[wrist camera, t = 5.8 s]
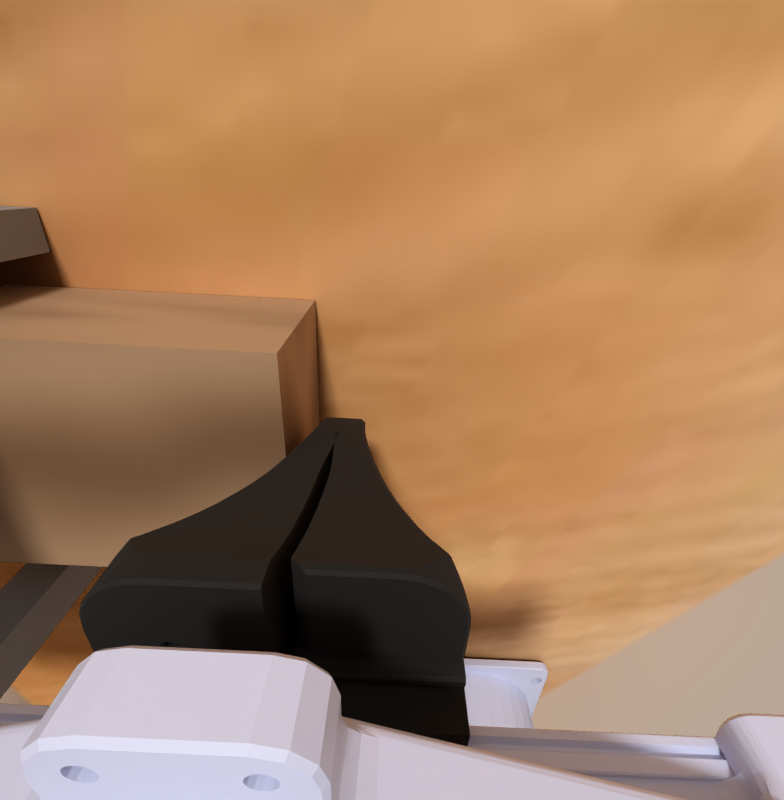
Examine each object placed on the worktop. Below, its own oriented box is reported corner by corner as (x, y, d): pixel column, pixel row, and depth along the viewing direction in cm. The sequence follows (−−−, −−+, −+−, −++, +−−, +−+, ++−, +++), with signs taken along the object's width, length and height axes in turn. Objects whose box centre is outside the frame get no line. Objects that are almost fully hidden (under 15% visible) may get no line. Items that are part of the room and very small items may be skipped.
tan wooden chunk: (322, 479, 16) (296, 576, 12) (78, 466, 16) (-28, 560, 12) (315, 300, 13) (276, 353, 9) (9, 284, 13) (-166, 330, 9)
